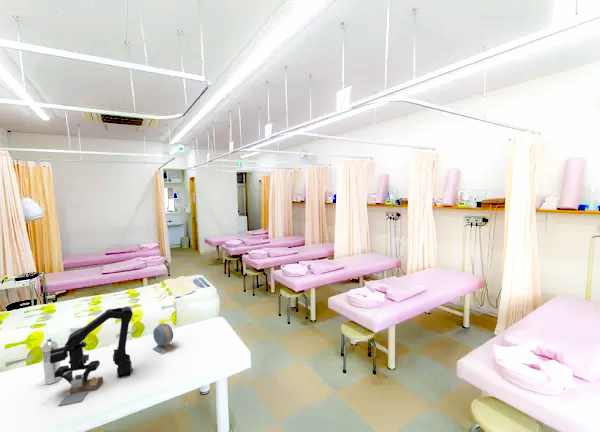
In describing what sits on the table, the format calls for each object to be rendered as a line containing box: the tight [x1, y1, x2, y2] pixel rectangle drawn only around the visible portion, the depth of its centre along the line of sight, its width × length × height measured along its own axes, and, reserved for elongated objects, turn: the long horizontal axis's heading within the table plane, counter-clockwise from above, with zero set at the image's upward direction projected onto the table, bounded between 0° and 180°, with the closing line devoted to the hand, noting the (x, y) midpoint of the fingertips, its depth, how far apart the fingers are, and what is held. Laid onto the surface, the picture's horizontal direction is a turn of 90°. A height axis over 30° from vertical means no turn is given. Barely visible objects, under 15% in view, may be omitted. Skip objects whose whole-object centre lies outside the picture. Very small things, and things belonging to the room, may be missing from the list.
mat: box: [57, 391, 89, 407], centre depth 142 cm, size 10×8×1 cm
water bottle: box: [41, 338, 62, 385], centre depth 156 cm, size 7×7×25 cm
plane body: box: [69, 376, 104, 394], centre depth 150 cm, size 13×6×3 cm, turn 106°
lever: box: [89, 376, 99, 386], centre depth 149 cm, size 3×3×3 cm
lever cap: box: [70, 373, 85, 388], centre depth 149 cm, size 5×5×5 cm
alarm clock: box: [152, 322, 177, 355], centre depth 187 cm, size 14×10×18 cm
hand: (79, 383), depth 149 cm, fingers open, 6 cm apart
